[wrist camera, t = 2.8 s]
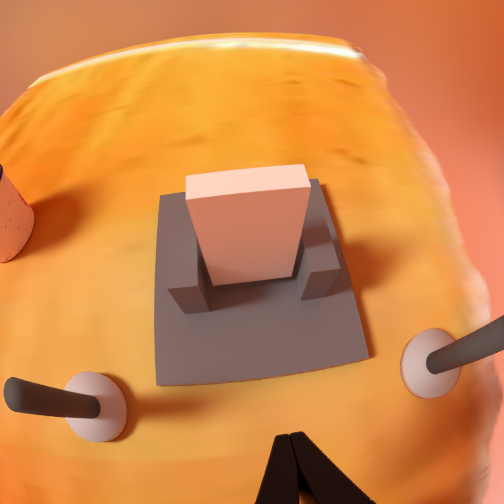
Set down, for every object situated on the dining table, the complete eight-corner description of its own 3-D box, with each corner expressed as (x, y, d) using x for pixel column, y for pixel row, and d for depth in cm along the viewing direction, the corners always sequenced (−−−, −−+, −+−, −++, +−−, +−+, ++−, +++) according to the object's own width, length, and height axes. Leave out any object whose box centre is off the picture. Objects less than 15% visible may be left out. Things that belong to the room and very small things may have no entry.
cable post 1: (135, 438, 18) (60, 448, 9) (76, 442, 17) (-7, 442, 8) (119, 368, 21) (44, 336, 12) (64, 377, 20) (-17, 348, 11)
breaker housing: (364, 360, 21) (397, 342, 16) (160, 386, 20) (129, 377, 15) (316, 185, 30) (325, 141, 25) (162, 201, 29) (146, 159, 24)
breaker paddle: (291, 276, 22) (311, 186, 14) (213, 285, 22) (185, 199, 13) (287, 258, 23) (303, 164, 15) (211, 267, 23) (186, 175, 14)
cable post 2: (462, 378, 19) (541, 349, 10) (413, 411, 18) (495, 400, 10) (440, 321, 22) (510, 272, 13) (390, 348, 21) (460, 305, 12)
